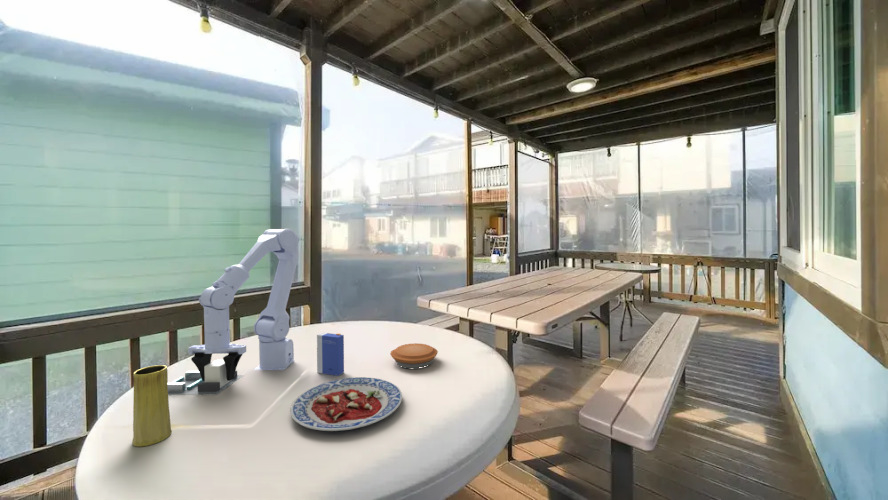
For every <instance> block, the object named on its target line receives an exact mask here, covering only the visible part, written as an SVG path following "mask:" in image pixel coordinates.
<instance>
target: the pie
mask: <svg viewBox="0 0 888 500" xmlns="http://www.w3.org/2000/svg"><path fill="white" fill-rule="evenodd" d="M438 353H439V351H438V350H437V349H436V348H435V347H434V346H431V345H429V344H426V343H415V342H414V343H407V344H402V345H400V346H398V347H395V348H394V349H393V350H391V351H390V353H389V354H390V357H392V359H394V362H395V363H396V365H397V366H398V365H399V367H400V366H402V367H406V368H419V367H424V366H427V365H429V364H430V365H431V364H432V363H433V361H434V360H435V358H436V357H437V355H438ZM430 365H429V366H430ZM402 367H401V368H402ZM427 367H428V366H427ZM406 368H405V369H406Z"/></svg>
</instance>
